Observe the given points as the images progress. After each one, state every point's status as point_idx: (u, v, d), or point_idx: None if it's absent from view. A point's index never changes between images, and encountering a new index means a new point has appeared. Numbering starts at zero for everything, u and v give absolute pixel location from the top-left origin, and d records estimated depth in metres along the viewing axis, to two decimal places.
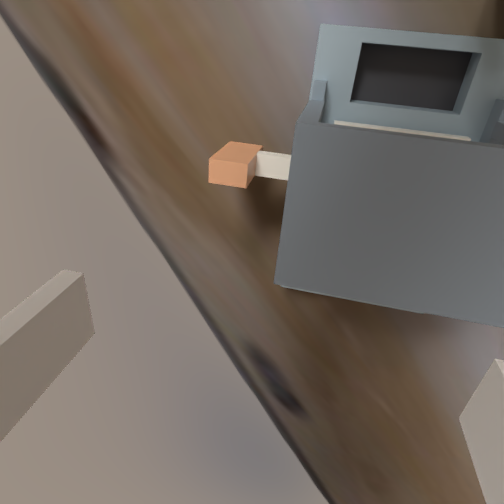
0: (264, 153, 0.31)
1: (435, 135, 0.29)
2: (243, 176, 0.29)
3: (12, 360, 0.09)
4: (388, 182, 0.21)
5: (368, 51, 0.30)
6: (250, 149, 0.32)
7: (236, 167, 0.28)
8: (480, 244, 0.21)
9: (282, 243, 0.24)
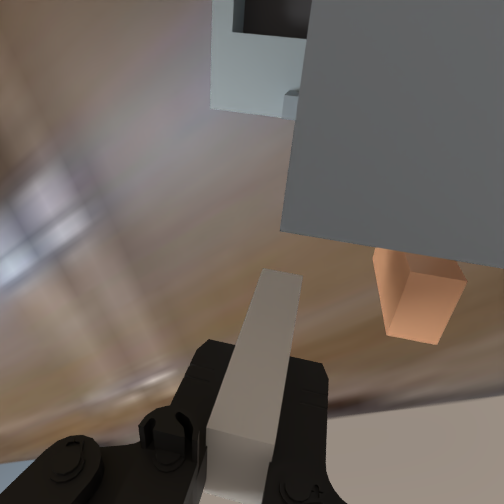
0: None
1: None
2: (437, 283, 0.13)
3: None
4: None
5: (255, 16, 0.18)
6: None
7: (414, 293, 0.14)
8: None
9: None
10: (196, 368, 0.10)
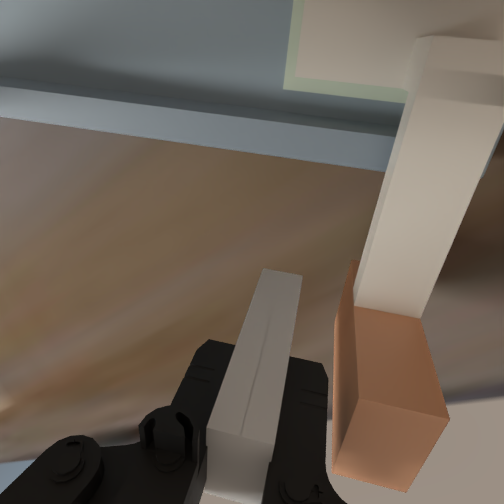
0: (358, 284, 0.11)
1: None
2: (401, 417, 0.08)
3: None
4: None
5: None
6: (347, 306, 0.12)
7: (367, 427, 0.09)
8: None
9: None
10: (196, 368, 0.10)
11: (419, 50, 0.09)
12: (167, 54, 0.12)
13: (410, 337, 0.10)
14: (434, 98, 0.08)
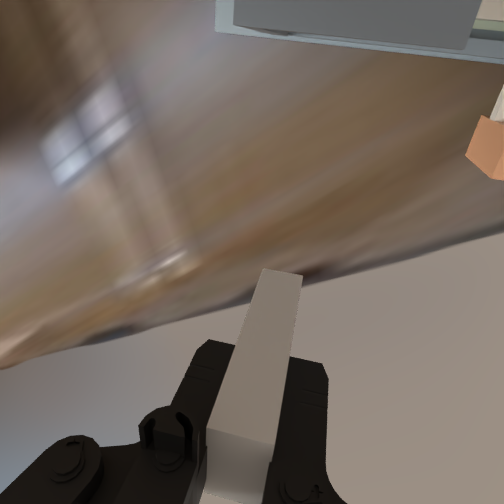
0: (496, 111, 0.25)
1: None
2: None
3: None
4: None
5: None
6: (485, 129, 0.27)
7: None
8: None
9: (389, 37, 0.17)
10: (196, 368, 0.10)
11: None
12: None
13: None
14: None
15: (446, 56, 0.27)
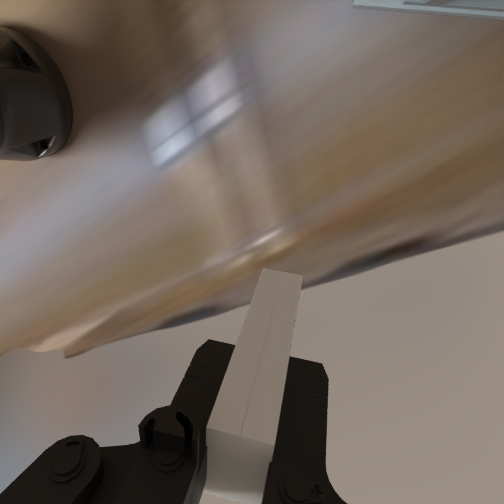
0: None
1: None
2: None
3: None
4: None
5: None
6: None
7: None
8: None
9: None
10: (196, 368, 0.10)
11: None
12: None
13: None
14: None
15: None
